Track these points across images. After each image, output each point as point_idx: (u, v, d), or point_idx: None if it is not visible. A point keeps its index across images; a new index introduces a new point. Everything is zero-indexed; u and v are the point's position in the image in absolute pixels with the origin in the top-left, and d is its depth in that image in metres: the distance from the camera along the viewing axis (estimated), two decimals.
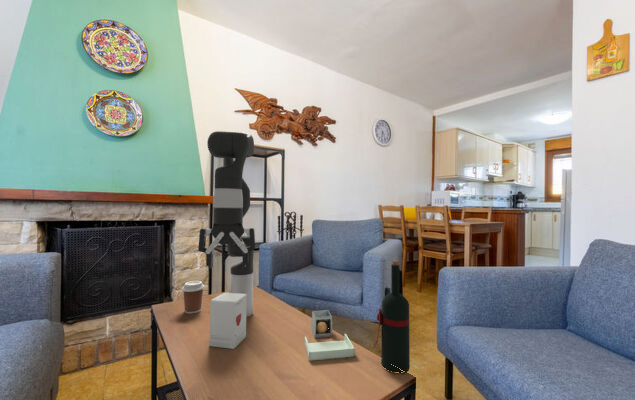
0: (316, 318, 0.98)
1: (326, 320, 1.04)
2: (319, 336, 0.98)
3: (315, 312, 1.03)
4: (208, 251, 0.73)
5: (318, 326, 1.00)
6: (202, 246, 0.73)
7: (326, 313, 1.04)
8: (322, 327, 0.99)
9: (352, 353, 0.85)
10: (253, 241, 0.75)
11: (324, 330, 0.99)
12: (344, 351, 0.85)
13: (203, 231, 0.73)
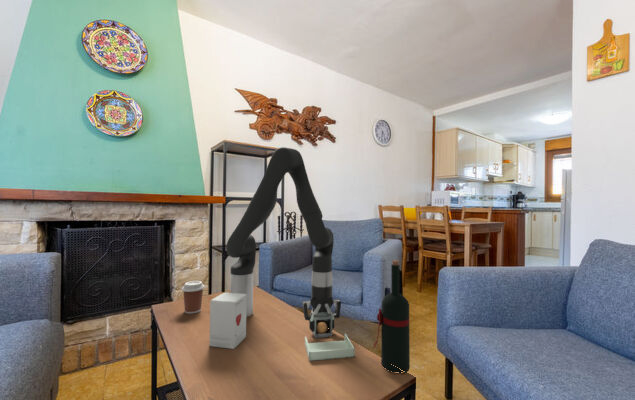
0: (316, 318, 0.98)
1: (326, 320, 1.04)
2: (319, 336, 0.98)
3: None
4: (312, 319, 0.99)
5: (318, 326, 1.00)
6: (307, 316, 0.99)
7: (326, 313, 1.04)
8: (322, 327, 0.99)
9: (352, 353, 0.85)
10: (339, 311, 1.01)
11: (324, 330, 0.99)
12: (344, 351, 0.85)
13: (306, 305, 0.99)
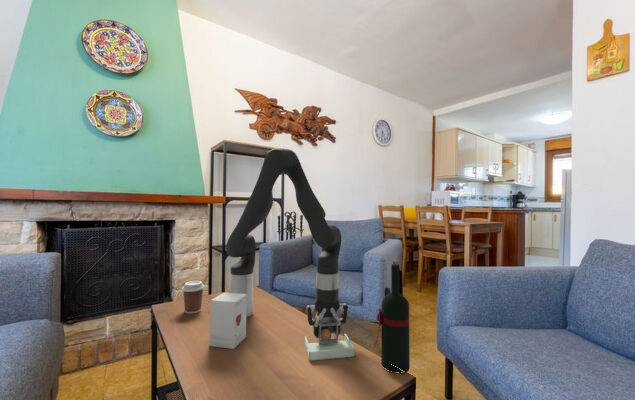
0: (321, 325, 0.90)
1: None
2: (324, 343, 0.91)
3: None
4: (316, 325, 0.92)
5: None
6: (311, 321, 0.92)
7: None
8: None
9: (352, 353, 0.85)
10: (346, 315, 0.94)
11: None
12: (344, 351, 0.85)
13: (310, 309, 0.91)
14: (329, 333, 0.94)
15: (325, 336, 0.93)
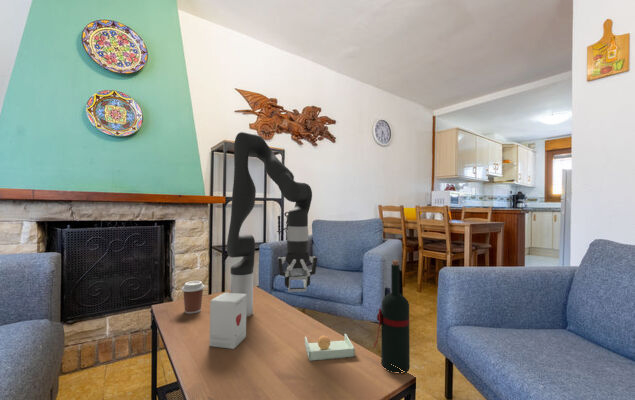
0: (291, 277, 0.95)
1: (302, 272, 1.02)
2: (293, 290, 0.98)
3: None
4: (286, 275, 0.97)
5: (318, 340, 0.90)
6: (282, 271, 0.97)
7: None
8: (320, 339, 0.88)
9: (352, 353, 0.85)
10: (315, 267, 0.99)
11: (323, 343, 0.88)
12: (344, 351, 0.85)
13: (280, 260, 0.97)
14: None
15: None
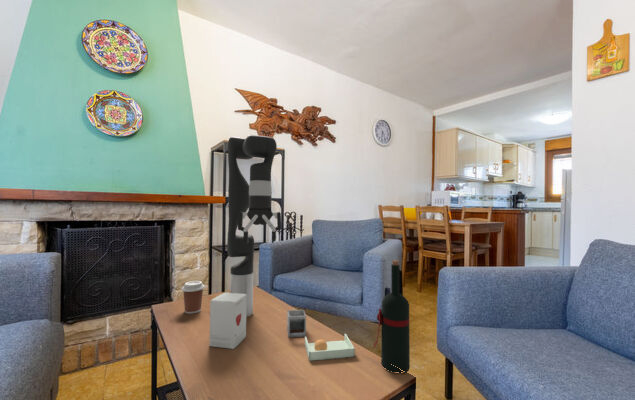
0: (290, 318, 0.98)
1: (301, 320, 1.04)
2: (293, 335, 0.98)
3: (290, 312, 1.04)
4: (245, 229, 0.93)
5: None
6: (240, 226, 0.93)
7: (301, 313, 1.04)
8: None
9: (352, 353, 0.85)
10: (280, 222, 0.95)
11: None
12: (344, 351, 0.85)
13: (241, 214, 0.93)
14: (326, 343, 0.87)
15: None
